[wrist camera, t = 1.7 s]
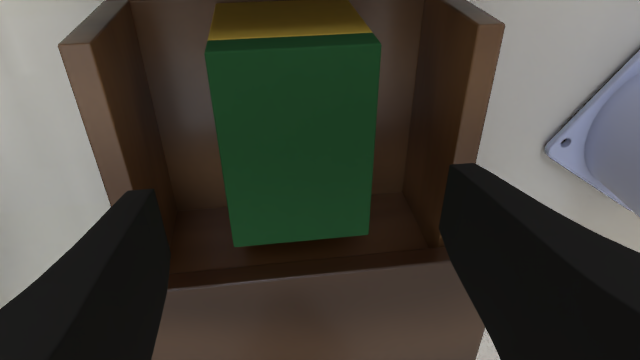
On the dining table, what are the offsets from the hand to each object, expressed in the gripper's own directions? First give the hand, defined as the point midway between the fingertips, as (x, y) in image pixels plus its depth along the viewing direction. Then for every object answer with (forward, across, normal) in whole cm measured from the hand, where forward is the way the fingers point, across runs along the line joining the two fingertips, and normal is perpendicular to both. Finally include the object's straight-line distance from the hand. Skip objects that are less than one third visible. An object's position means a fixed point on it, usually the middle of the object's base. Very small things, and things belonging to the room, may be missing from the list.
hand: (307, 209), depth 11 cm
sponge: (+7, 0, 0) cm, 7 cm away
